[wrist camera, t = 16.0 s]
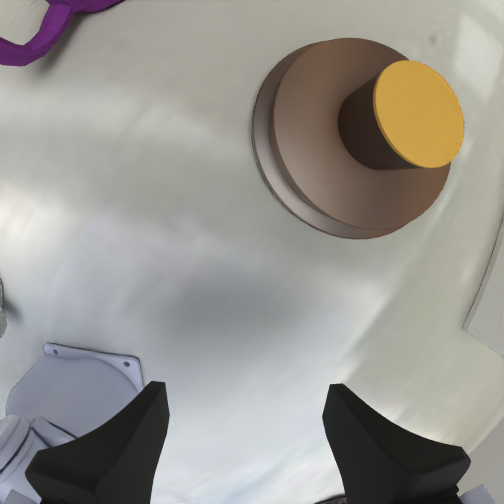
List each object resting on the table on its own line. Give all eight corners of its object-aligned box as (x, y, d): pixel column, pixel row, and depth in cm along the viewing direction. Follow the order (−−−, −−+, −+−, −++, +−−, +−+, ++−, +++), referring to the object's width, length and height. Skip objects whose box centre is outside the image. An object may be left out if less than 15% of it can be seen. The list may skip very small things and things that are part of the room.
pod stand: (246, 231, 20) (248, 241, 16) (256, 35, 17) (259, 9, 13) (427, 241, 20) (455, 251, 17) (429, 71, 18) (454, 58, 14)
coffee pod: (350, 178, 16) (393, 176, 11) (326, 93, 15) (359, 61, 10) (420, 163, 16) (473, 160, 11) (399, 85, 15) (445, 61, 10)
